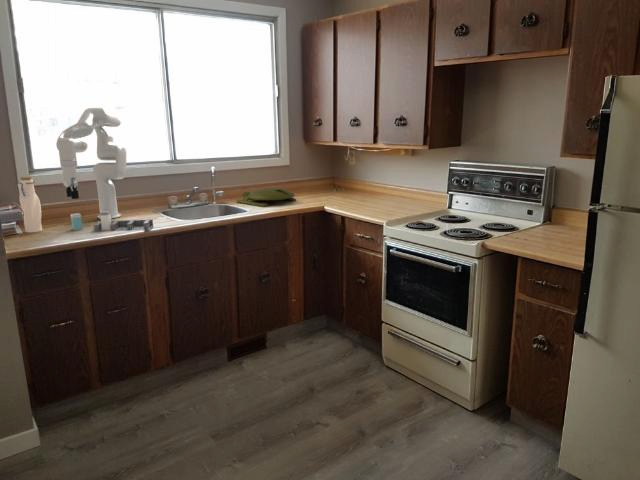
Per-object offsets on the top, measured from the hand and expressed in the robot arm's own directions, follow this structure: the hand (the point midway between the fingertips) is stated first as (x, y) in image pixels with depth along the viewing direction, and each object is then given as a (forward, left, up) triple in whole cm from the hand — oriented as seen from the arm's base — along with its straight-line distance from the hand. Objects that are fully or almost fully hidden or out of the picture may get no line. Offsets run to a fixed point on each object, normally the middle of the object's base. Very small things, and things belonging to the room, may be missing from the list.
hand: (72, 197), depth 258 cm
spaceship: (-67, +102, -18) cm, 123 cm away
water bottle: (-5, -23, -18) cm, 30 cm away
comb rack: (+2, +23, -18) cm, 29 cm away
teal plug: (0, 0, -18) cm, 18 cm away
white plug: (+2, +15, -17) cm, 22 cm away
